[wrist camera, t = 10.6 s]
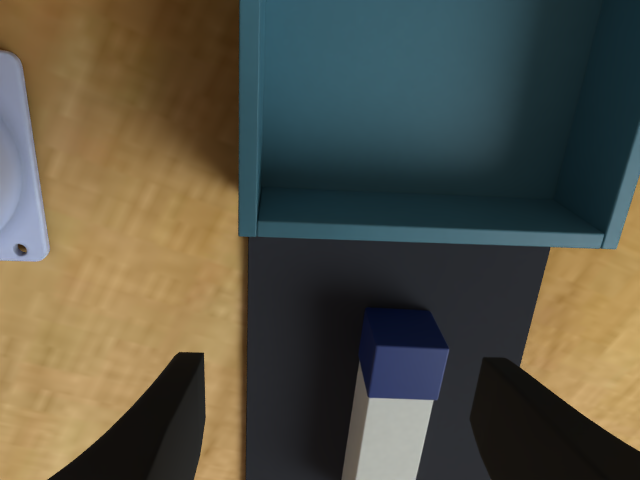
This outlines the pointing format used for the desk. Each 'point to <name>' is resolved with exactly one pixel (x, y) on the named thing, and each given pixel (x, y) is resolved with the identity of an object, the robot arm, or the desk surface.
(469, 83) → the storage box
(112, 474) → the robot arm
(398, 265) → the mat
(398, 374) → the marker
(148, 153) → the desk surface
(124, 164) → the desk surface
